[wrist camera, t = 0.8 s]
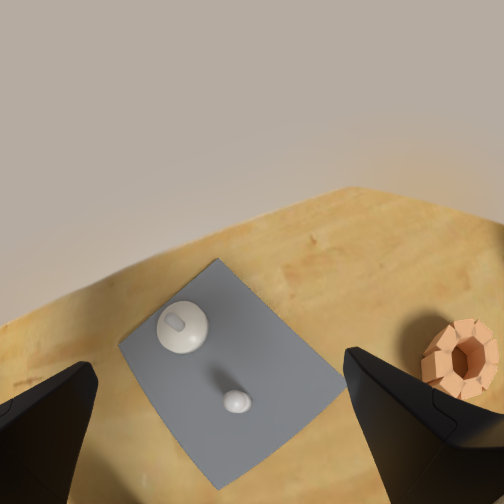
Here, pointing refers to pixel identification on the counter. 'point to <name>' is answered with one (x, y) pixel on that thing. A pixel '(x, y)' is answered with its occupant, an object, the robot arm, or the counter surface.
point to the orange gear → (478, 357)
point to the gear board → (228, 374)
